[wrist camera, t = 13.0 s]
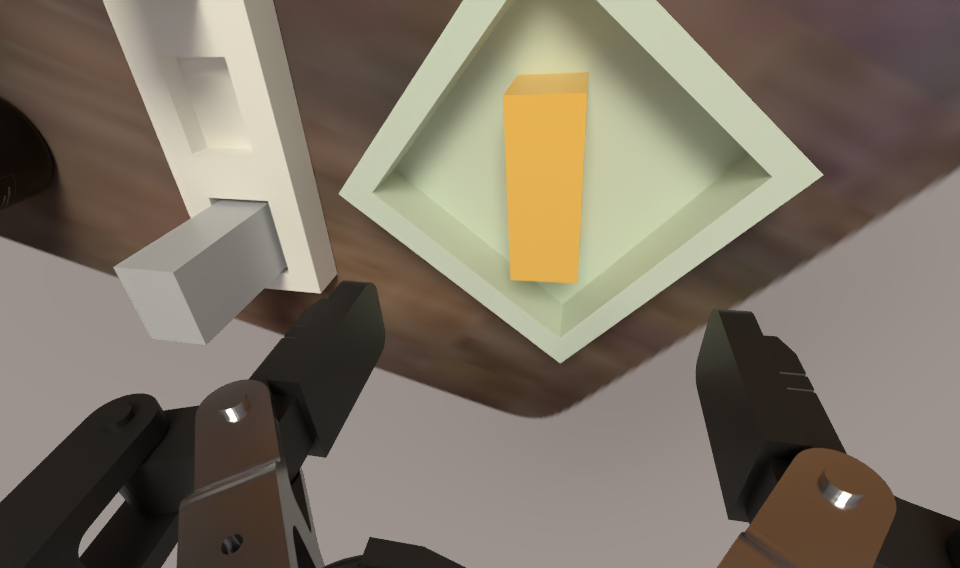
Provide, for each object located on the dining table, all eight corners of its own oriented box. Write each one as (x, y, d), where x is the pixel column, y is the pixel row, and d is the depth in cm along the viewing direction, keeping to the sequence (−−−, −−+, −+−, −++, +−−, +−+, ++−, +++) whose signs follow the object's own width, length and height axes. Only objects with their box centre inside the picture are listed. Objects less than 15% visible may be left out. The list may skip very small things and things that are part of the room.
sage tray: (550, -105, 18) (540, -120, 15) (788, 142, 21) (823, 175, 18) (371, 164, 25) (338, 193, 22) (564, 317, 28) (560, 363, 25)
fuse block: (81, -167, 20) (29, -180, 18) (229, -184, 19) (190, -200, 17) (238, 265, 31) (217, 283, 30) (337, 274, 30) (320, 293, 28)
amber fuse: (521, 239, 25) (517, 74, 21) (580, 241, 24) (588, 72, 20) (510, 280, 22) (502, 95, 17) (577, 283, 21) (587, 92, 17)
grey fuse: (229, 194, 27) (113, 267, 21) (276, 197, 27) (172, 272, 20) (250, 255, 29) (151, 338, 23) (294, 258, 29) (206, 345, 22)
